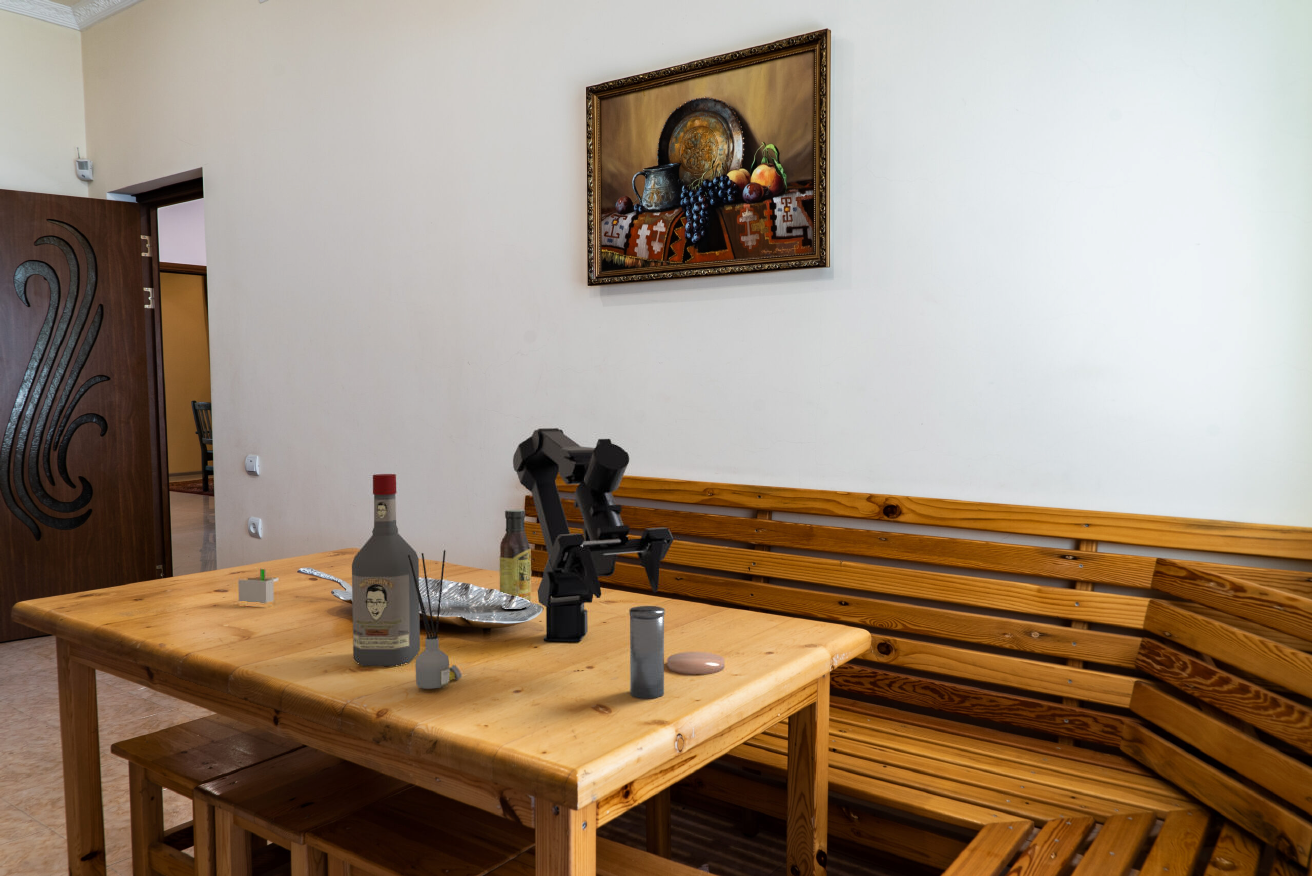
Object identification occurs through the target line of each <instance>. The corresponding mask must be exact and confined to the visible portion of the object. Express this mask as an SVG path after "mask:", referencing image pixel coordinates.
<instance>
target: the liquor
mask: <svg viewBox="0 0 1312 876" xmlns="http://www.w3.org/2000/svg"><path fill="white" fill-rule="evenodd" d="M396 494H397V474H395V473H380V474H376V473H375V474H372V495H373V529H372V535H371V536H370V538H368V539H367V541H366V542H365V543H364V545H363V546H362V548H360V549H359V551H358V552H357V553H356V554H355V556H354V558H353V560H352V563H351V589H352V591H351V593H352V597H351V599H352V600H351V601H352V603H351V604H352V605H351V606H352V649H353V650H352V655H353V656H352V657H353V660H354V661H355V663H356V662H357V663H359V664H361V665H363V666H396V665H400V666H402V665H401V664H405V663H408V664H410V663H411V662H410V661H411V660H412V659H413V658H414V657H415V656H416V655H417V656H418V654H419V652H420V650H421V643H420V642H421V637H420V636H421V635H420V634H421V631H420V630H421V629H420V627H421V625H420V623H421V622H420V603H419V599H418V595H417V590H416V586H415V582H414V577H413V573H412V569H411V565H410V561H409V558H408V555H410V558H411V560H412V564H413V569H414V572H415V576H416V579H417V583H418V587H419V588H420V563H419V557H418V554H417V551H415V549H414V548H413V547H412V546H411V545H410V544H409V543H408V542H407V541H406V540H405V539H404V538H403V537H402V536H401V534H400V533H399V528H398V526H397V510H396V509H397V506H396V504H397V503H396V499H397V498H396ZM417 656H416V657H417ZM416 657H415V658H416ZM415 658H414V659H415ZM414 659H413V660H414ZM413 660H412V661H413ZM357 663H356V664H357ZM359 664H358V665H359ZM361 665H360V666H361ZM405 665H406V664H405ZM363 666H362V667H363ZM396 667H397V666H396Z"/></svg>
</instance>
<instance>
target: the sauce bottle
mask: <svg viewBox="0 0 1312 876" xmlns="http://www.w3.org/2000/svg"><path fill="white" fill-rule="evenodd" d="M504 517H505V534H504V536H503V538H502V539H501V542H500V544H499V545H500V548H499V550H500V551H499V553H500V555H499V593H500V592H503V593H507V594H511V595H513V596H519V597H522V598H525V599H527V600H529V601H530V602H531V599H532V596H531V594H532V593H531V591H532V584H531V582H532V581H531V580H532V572H531V571H532V563H531V561H532V558H531V557H532V552H531V551H532V549H531V546H530V543H529V539H528V537H527V534H526V529H525V518H526V510H525V509H506V510H504Z"/></svg>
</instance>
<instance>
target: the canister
mask: <svg viewBox="0 0 1312 876" xmlns="http://www.w3.org/2000/svg"><path fill="white" fill-rule="evenodd" d="M628 611H629V614H628V615H629V642H630V643H629V645H630V647H629V648H630V649H629V652H630V653H629V655H630V659H629V661H630V662H629V667H630V669H629V672H630V673H629V679H630V680H629V681H630V687H629V688H630V691H629V692H630V693H629V694H630V696H631V697H633V698H636V699H642V700H651V699H659V698H661V697H663V696H664V695H665V614H666V613H665V612H666V611H665V608H664V607H661V606H658V605H656V606H655V605H640V606H639V605H638V606H633V607H631V608H629V610H628ZM658 697H659V698H658Z"/></svg>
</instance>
